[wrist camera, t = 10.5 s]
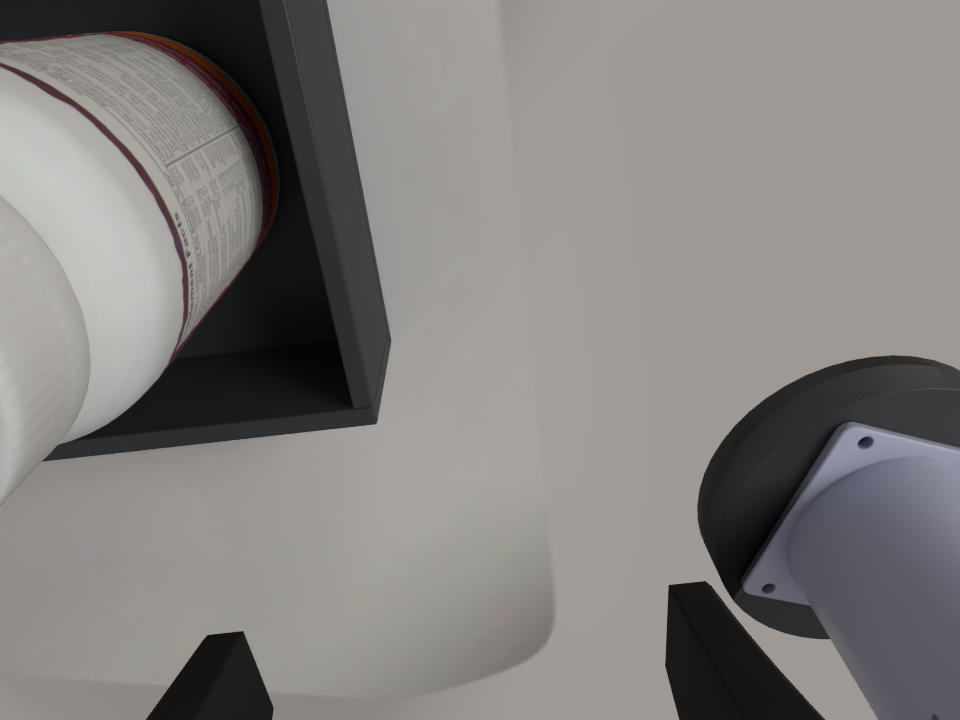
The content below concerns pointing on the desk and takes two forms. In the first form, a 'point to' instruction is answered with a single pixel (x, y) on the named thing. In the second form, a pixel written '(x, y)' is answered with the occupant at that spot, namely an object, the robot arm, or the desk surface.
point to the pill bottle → (114, 224)
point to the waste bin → (285, 250)
